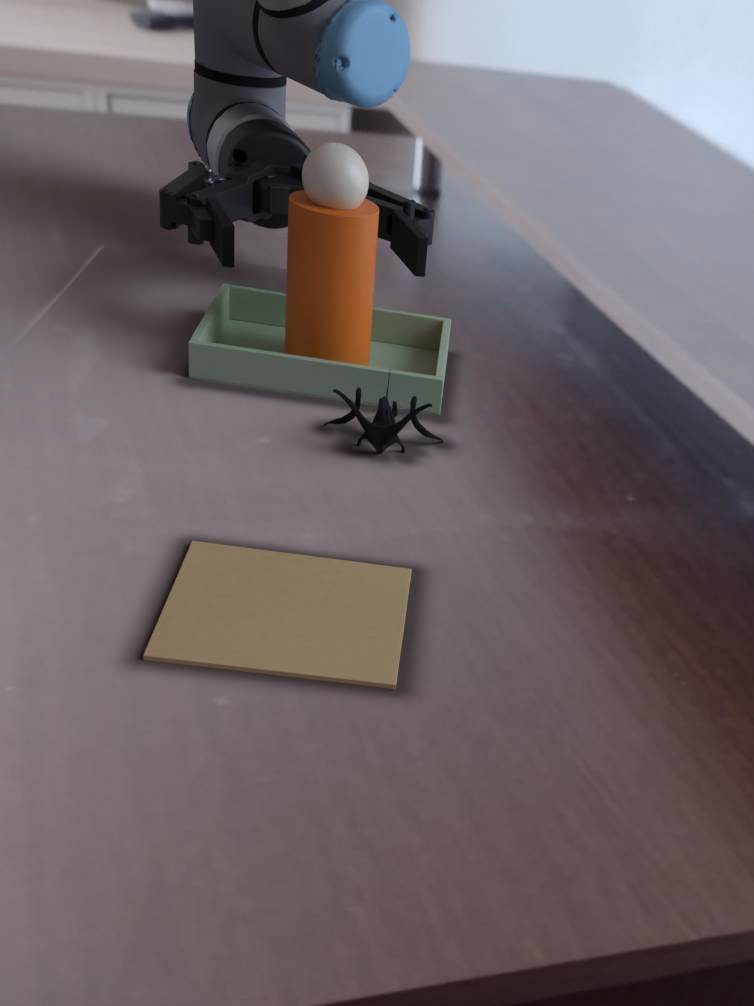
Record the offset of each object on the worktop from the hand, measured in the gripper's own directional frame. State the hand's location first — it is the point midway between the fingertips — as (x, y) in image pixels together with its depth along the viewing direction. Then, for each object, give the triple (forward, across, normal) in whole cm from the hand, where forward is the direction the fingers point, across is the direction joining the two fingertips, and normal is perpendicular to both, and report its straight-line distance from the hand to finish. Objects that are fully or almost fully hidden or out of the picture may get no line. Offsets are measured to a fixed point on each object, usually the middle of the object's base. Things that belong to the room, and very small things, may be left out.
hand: (328, 252), depth 92 cm
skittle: (+1, 0, -7) cm, 7 cm away
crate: (+1, 0, -8) cm, 8 cm away
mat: (+35, +10, -8) cm, 37 cm away
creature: (+14, 0, -8) cm, 16 cm away
